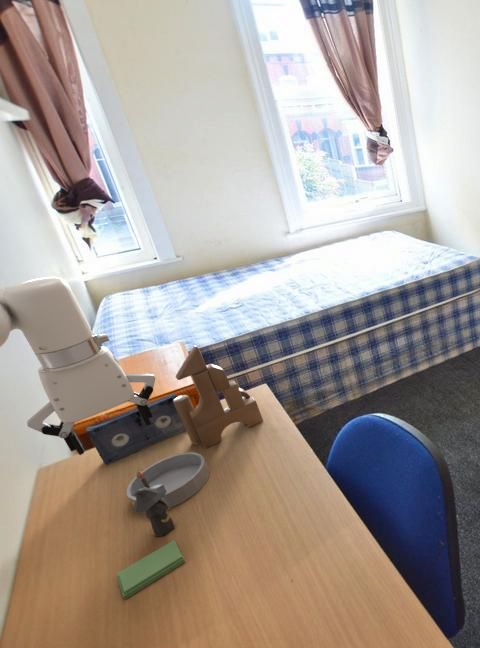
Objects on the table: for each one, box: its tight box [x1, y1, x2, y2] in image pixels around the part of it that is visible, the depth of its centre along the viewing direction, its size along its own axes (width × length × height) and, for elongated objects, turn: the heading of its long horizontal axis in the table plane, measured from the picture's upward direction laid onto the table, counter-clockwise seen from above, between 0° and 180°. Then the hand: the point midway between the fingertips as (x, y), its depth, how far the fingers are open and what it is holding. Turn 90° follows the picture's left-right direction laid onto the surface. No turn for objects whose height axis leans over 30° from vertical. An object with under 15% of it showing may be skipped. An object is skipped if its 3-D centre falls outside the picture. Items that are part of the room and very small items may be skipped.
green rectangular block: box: [116, 539, 186, 600], centre depth 83 cm, size 9×6×1 cm, turn 137°
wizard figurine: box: [133, 469, 176, 537], centre depth 89 cm, size 8×6×12 cm
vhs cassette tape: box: [85, 392, 186, 466], centre depth 116 cm, size 18×3×10 cm, turn 133°
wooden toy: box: [173, 344, 264, 449], centre depth 115 cm, size 16×7×25 cm, turn 136°
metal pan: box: [125, 452, 210, 514], centre depth 102 cm, size 14×14×4 cm
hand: (115, 436), depth 83 cm, fingers open, 9 cm apart
